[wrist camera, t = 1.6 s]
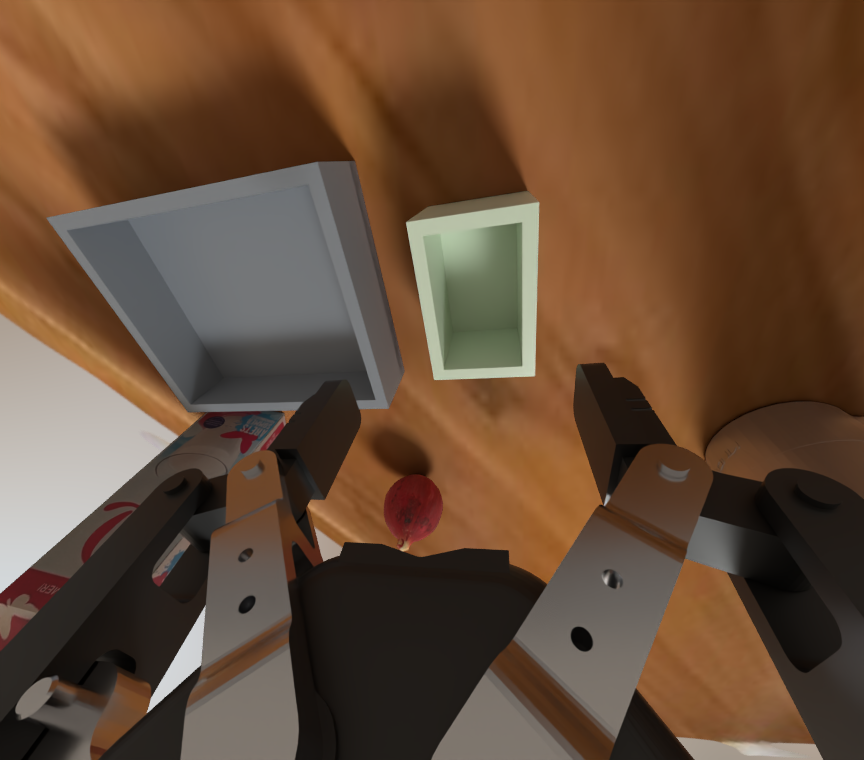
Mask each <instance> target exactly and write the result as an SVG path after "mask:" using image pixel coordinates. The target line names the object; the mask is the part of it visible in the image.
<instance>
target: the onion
mask: <svg viewBox="0 0 864 760" xmlns="http://www.w3.org/2000/svg"><path fill="white" fill-rule="evenodd" d="M442 511H443V501H442V497H441V494H440V491H439V489H438V488H437V486H436V485H435V484H434V483H433V481H432V480H430V479H429V478H427V477H425V476H422V475H418V474H416V475H408V476H406V477H404V478H401V479H400V480H398V481H397V482H396V483H394V485H393V486H392V487H391V488H390V489H389V491H388V493H387V494H386V498H385V503H384V517H385V521H386V523H387V526H388V527H389V529H390V531H391V533H392V534H393V535H394V536H395V537H396V538H397V539H398V544H397V547H398V548H399V549H400V550H401V551H405V550H408V549H409V547H410V545H411V544H412V543H413V542H415V541H419V540H422V539H423V538H425V537H427V536H428V535H429V534H431V533H432V532H433V531H434V530H435V528H436V527H437V525H438V523H439V520H440V518H441V514H442Z"/></svg>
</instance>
